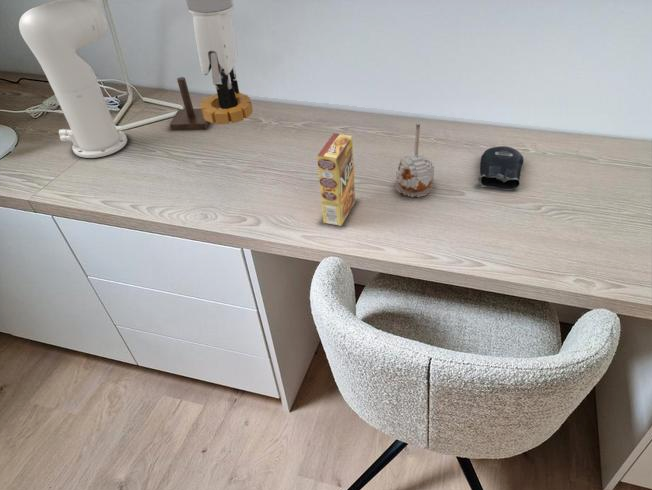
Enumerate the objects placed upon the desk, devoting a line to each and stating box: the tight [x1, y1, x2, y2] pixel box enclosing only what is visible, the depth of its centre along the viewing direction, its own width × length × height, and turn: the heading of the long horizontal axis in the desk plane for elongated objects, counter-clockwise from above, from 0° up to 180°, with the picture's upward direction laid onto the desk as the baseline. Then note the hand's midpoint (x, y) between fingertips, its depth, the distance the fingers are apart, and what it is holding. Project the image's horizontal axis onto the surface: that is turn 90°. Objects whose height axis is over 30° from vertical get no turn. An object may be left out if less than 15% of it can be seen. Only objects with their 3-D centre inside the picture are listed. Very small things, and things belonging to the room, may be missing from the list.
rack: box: [169, 76, 210, 131], centre depth 127 cm, size 9×9×12 cm
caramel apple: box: [395, 122, 435, 198], centre depth 101 cm, size 8×8×15 cm
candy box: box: [316, 132, 356, 227], centre depth 95 cm, size 9×4×15 cm, turn 162°
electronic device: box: [477, 145, 524, 191], centre depth 110 cm, size 9×6×15 cm
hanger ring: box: [199, 92, 254, 125], centre depth 93 cm, size 9×9×2 cm
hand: (230, 103), depth 96 cm, fingers closed on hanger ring, 2 cm apart
